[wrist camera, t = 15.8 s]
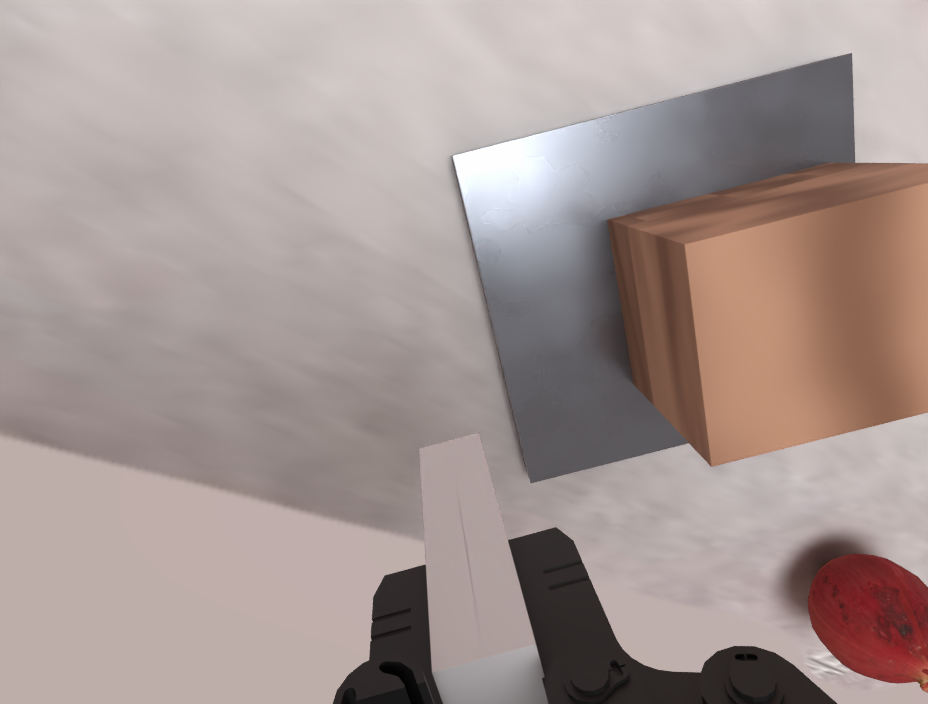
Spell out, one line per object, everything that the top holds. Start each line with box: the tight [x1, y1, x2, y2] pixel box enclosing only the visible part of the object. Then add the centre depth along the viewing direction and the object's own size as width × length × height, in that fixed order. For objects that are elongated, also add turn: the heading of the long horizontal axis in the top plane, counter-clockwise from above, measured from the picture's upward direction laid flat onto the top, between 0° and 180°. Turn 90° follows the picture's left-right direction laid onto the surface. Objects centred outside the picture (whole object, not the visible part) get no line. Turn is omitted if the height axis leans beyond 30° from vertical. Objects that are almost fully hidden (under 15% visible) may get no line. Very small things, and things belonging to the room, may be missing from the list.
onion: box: [808, 554, 928, 692], centre depth 31 cm, size 6×6×8 cm
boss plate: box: [452, 53, 855, 483], centre depth 27 cm, size 17×16×3 cm
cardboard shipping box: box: [607, 163, 928, 467], centre depth 23 cm, size 10×8×8 cm
